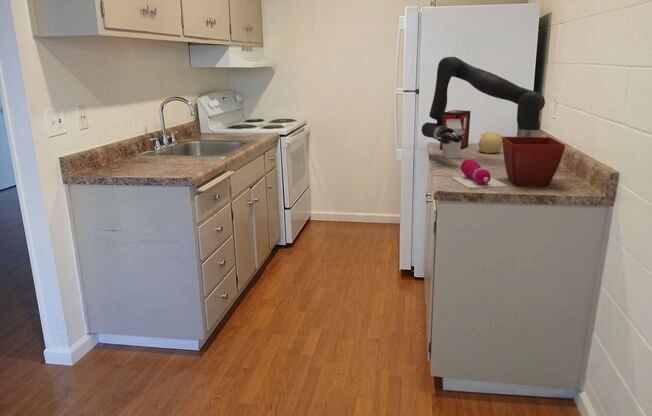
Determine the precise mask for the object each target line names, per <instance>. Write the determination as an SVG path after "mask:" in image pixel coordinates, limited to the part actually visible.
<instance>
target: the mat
mask: <svg viewBox="0 0 652 416" xmlns="http://www.w3.org/2000/svg"><path fill="white" fill-rule="evenodd" d="M450 179H452V180H453V181H455V182H456V183H458V184H460V185H461V186H463V187H465V188H467V189H488V188H508V187H509V186H508V184H505V183H503V182H501V181H499V180H498V179H495V178H493V177H491V179H490V181H489V182H488V183H487V184H485V185H480V184H478V183H477V182H476V181H475V179H474V178H468V177H466V176H465V175H464V176H450Z"/></svg>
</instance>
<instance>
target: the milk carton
mask: <svg viewBox="0 0 652 416" xmlns="http://www.w3.org/2000/svg"><path fill="white" fill-rule="evenodd" d="M444 126H445V127H448V128H451V129H452V130H453V131H454V132H455V134H458V135H460V134H462V126H461V122H460V119H446V122H445V125H444ZM461 150H462V149H461V141H460V142H459V143H456V142H451V143H449V144H444V143H443V147H442V150H441V157H443V158H445V159H461V152H462V151H461Z"/></svg>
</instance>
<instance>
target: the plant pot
mask: <svg viewBox="0 0 652 416" xmlns="http://www.w3.org/2000/svg"><path fill="white" fill-rule="evenodd" d="M502 138H503V144H502V152H503V153H502V154H503V159H504V160H503V161H504V167H505V171H506V175H507V178H508V180H509V181H510V182H511V183H512V184H513V185H514V186H525V187H529V186H530V187H548V186H549V185H550V183H551V182H552V180H553V178H554V176H555V175H556V172H557V170H558V168H559V165H560V162H561V160H562V157H563V154H564V151H565V148H566V144H564V143H562V141H561V142H560V141H558V140H557V139H555V138H553V137H549V136H546V137H545V136H544V137H543V136H539V137H517V136H503V137H502Z"/></svg>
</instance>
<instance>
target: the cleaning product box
mask: <svg viewBox="0 0 652 416" xmlns="http://www.w3.org/2000/svg"><path fill="white" fill-rule="evenodd" d="M471 113H472V112H471V110H463V109H462V110H460V109H458V110H457V109H455V110H453V109H452V110H448V111H445V113H444V118H443V126H444V125H445V122H446V119H460V122H461V126H462V134H464V140H462V141H461V150H464V149H467V148H469V141H470V140H469V137H470V124H471V122H470V121H471ZM442 147H443V143H442V142H439V151H442ZM466 147H467V148H466Z"/></svg>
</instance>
